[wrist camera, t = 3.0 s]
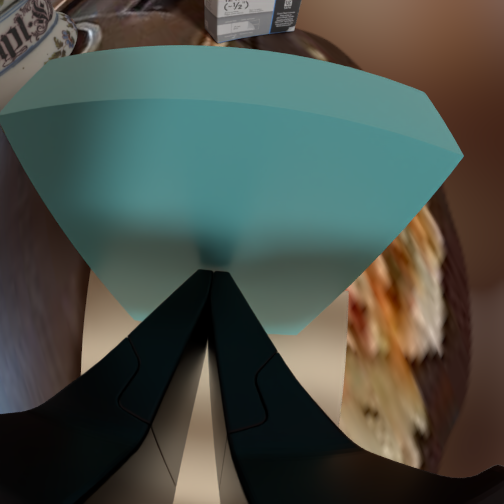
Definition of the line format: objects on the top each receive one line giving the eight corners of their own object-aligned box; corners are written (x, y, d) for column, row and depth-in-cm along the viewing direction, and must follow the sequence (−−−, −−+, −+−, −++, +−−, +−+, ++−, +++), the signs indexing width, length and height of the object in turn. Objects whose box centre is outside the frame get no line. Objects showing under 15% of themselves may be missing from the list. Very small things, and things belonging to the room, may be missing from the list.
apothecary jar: (-4, 96, 20) (-67, -7, 3) (84, 43, 23) (48, -83, 5) (-7, 171, 18) (-118, 50, 1) (102, 103, 21) (41, -79, 3)
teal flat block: (296, 335, 14) (463, 156, 4) (134, 320, 14) (-4, 116, 3) (296, 297, 15) (424, 92, 5) (141, 283, 15) (49, 60, 4)
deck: (306, 513, 14) (317, 534, 12) (106, 496, 13) (92, 515, 11) (329, 297, 19) (348, 291, 16) (109, 276, 17) (91, 267, 15)
